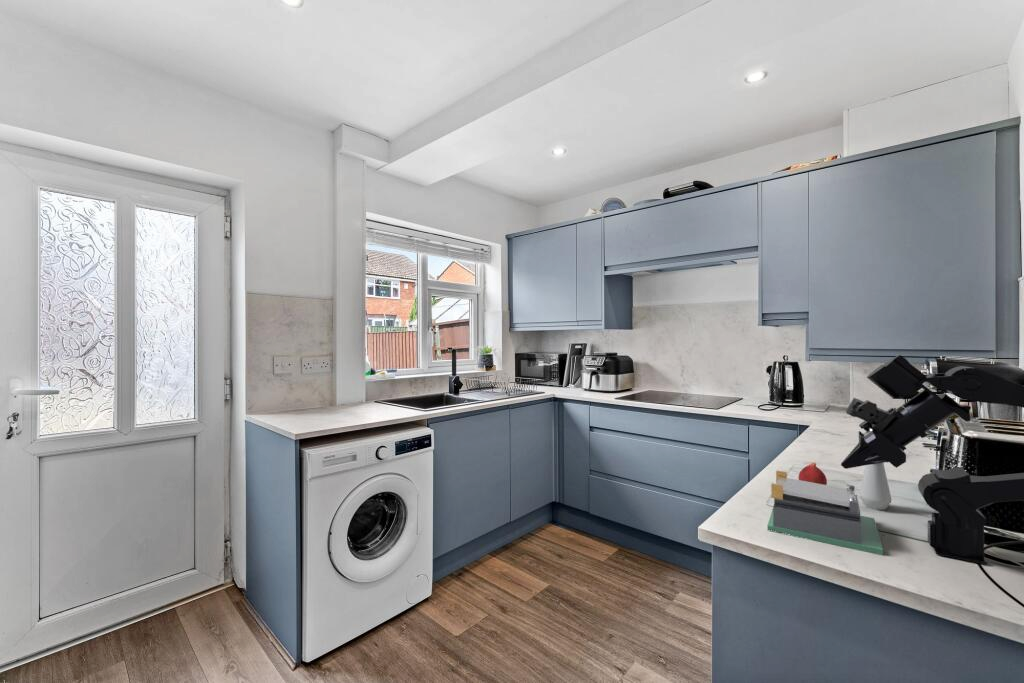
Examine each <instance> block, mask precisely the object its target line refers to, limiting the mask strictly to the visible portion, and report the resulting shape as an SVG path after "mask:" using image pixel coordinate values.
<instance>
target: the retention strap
mask: <svg viewBox="0 0 1024 683" xmlns="http://www.w3.org/2000/svg"><path fill="white" fill-rule="evenodd" d="M775 484H779V485H783V494H787V495H792V496H797V497H802V498H807V499H812V500H817V501H822V502H827V503H832V504H837V505H842V506H847V507H850V502H849V500H850V501H856V497H855V495H856V492H855V489H854V490H853V489H847V488H843V487H839V486H832V485H828V484H827V485H823V484H818V483H812V482H807V481H801V480H799V479H795V478H789V477H787V478H785V477H778V480H777V483H775Z"/></svg>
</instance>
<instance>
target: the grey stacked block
mask: <svg viewBox="0 0 1024 683" xmlns="http://www.w3.org/2000/svg"><path fill="white" fill-rule="evenodd" d="M787 472H788V471H784V470H777V469H776V471H775V479H776V480H775V482H776V483H777V480H778V477H785V478H788V475H787V474H788V473H787ZM776 483H773V482H772V483H770V484H771V491H770V492H771V495H770V496H771V499H773V502H774V503H773V507H772V509H773V526H775V527H780V528H784V529H789V530H794V531H799V532H804V533H808V534H813V535H818V536H823V537H828V538H832V539H837V540H842V541H847V542H852V543H856V544H861V519H860V516H861V511H860V505H859V501H858V495H857V494H855V497H856V501H850V500H849V502H850V507H847V506H842V505H837V504H832V503H827V502H822V501H817V500H812V499H807V498H802V497H797V496H792V495H787V494H783V485H779V484H776ZM846 489H853V490H854V491H855V485H850V484H847V485H846Z"/></svg>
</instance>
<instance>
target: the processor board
mask: <svg viewBox="0 0 1024 683" xmlns="http://www.w3.org/2000/svg"><path fill="white" fill-rule="evenodd" d="M771 510H772V511H771V513H770V516H769V520H768V523H767V531H768V530H772V531H771V532H773V531H776V532H775V533H777V532H781V533H780V534H782V533H786V534H785V535H787V534H790V535H789V536H791V535H794V536H793V537H796V536H798V537H797V538H801V537H802V538H801V539H805V538H807V539H806V540H810V539H811V540H812V541H815V540H816V542H819V541H820V543H825V544H828V543H829V544H830V545H834V546H840V547H843V548H847V549H852V550H856V551H862V552H866V553H871V554H876V555H879V556H880V555H881V556H883V555H884V548H883V544H882V542H881V539H880V534H879V531H878V527H877V523H876V520H875V518H874V517H870V516H865V515H860V519H861V544H856V543H852V542H847V541H842V540H837V539H832V538H828V537H823V536H818V535H813V534H808V533H804V532H799V531H794V530H789V529H784V528H780V527H775V526H773V508H772V509H771ZM829 544H828V545H829Z"/></svg>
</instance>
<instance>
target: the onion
mask: <svg viewBox="0 0 1024 683" xmlns="http://www.w3.org/2000/svg"><path fill="white" fill-rule="evenodd" d="M797 479H798V480H801V481H807V482H812V483H818V484H823V485H828V484H827V483H828V480H827V477H826V474H825V473H824V471H822V470H821V469H820V468H819V467H818V466H817V463H816V462H810V464H809V465H806V466H804V467H803V468H802V469H801V470H800V472H799V473H798V478H797Z"/></svg>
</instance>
